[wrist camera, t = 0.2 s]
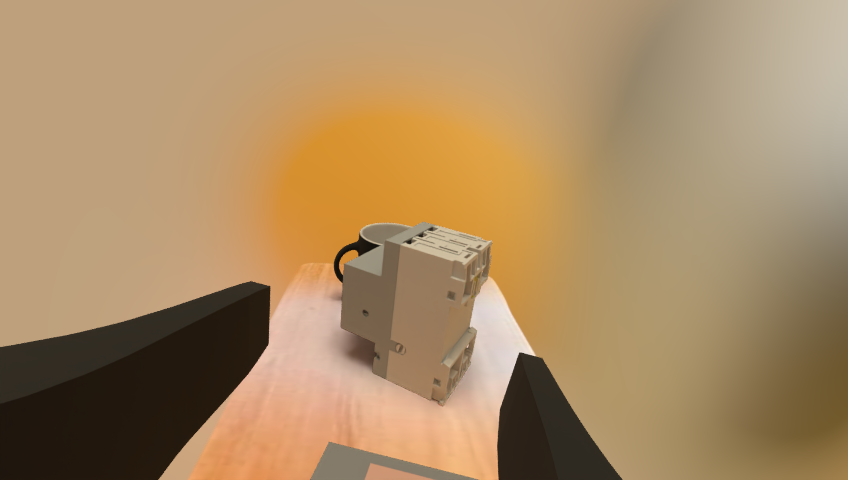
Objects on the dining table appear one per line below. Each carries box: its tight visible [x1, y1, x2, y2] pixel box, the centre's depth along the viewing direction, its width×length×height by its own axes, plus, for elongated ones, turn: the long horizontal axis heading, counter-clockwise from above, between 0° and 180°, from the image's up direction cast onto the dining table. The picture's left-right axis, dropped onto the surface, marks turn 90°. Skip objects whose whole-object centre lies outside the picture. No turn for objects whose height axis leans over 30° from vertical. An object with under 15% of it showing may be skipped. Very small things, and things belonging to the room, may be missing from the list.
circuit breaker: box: [341, 222, 492, 406], centre depth 41 cm, size 8×14×15 cm, turn 63°
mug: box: [334, 223, 412, 283], centre depth 53 cm, size 12×9×10 cm
